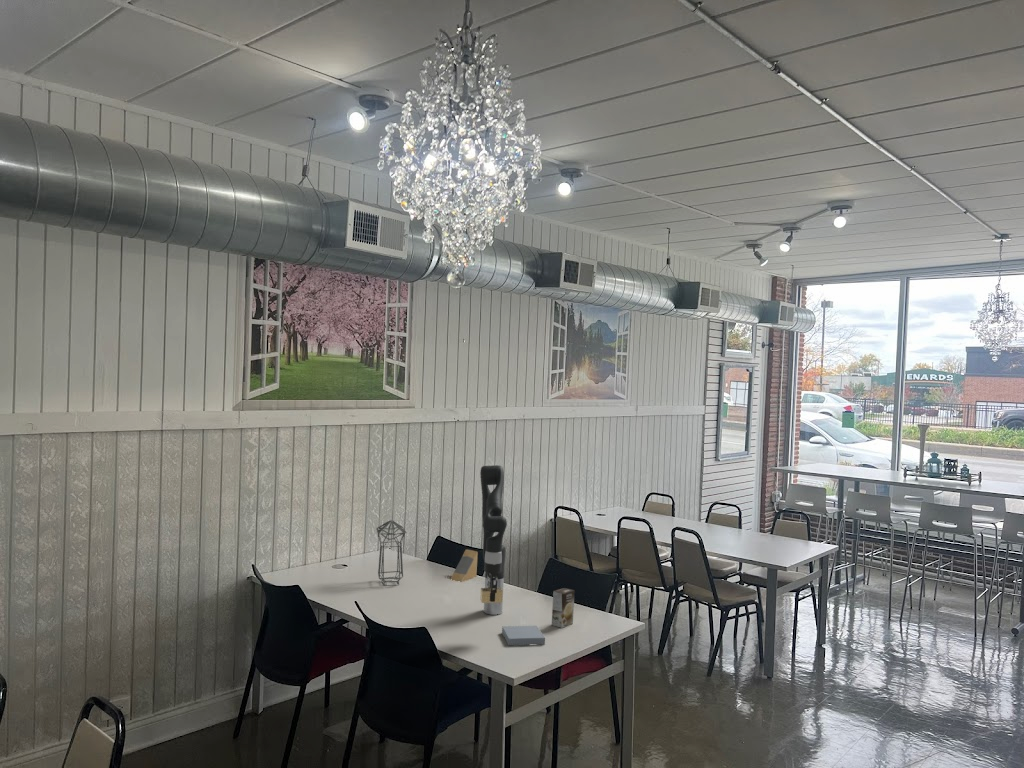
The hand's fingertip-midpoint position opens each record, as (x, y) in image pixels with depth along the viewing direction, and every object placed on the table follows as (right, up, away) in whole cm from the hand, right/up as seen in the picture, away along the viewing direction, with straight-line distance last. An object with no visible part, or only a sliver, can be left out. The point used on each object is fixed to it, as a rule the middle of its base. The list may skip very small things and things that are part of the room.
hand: (491, 599), depth 327 cm
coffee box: (+33, -19, +23) cm, 45 cm away
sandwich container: (-19, -17, +97) cm, 101 cm away
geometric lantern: (-59, -15, +79) cm, 100 cm away
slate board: (+14, -18, +1) cm, 23 cm away
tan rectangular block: (0, -1, 0) cm, 1 cm away
